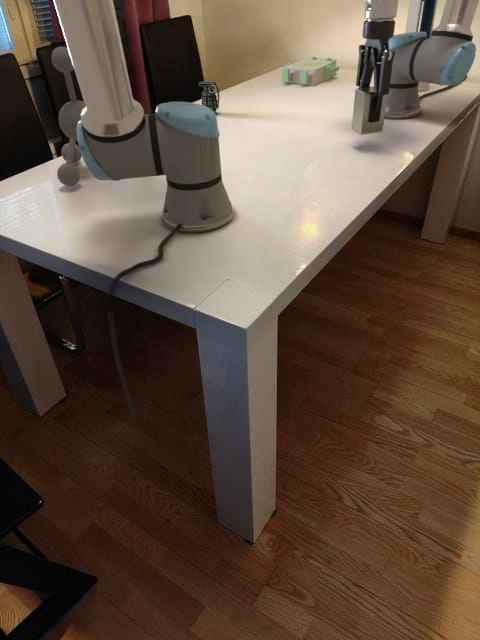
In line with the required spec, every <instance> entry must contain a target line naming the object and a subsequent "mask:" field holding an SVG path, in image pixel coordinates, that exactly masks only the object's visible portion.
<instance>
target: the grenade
mask: <svg viewBox="0 0 480 640" xmlns="http://www.w3.org/2000/svg"><path fill="white" fill-rule="evenodd" d="M197 85H198V86H200V87H203V91H202V92H201V101H200V102H201V104H200V105H204V106H206V107H208V108H210V109H211V110H213V111H214V113H215V114H216V112H217V111H218V110H219V108H220V90H219V86H218V84H217V83H216V81H199V82H198V84H197ZM216 93H217V95H216Z"/></svg>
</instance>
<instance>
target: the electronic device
mask: <svg viewBox="0 0 480 640" xmlns="http://www.w3.org/2000/svg"><path fill="white" fill-rule="evenodd" d="M438 2H439V0H409V2H408V10H407V16H406V23H405V32H404V33H410V32H422V31H423V32H426V35H427V37H426V38H430V36H431V33H432V30H433V29H434V24H435V19H436V13H437V7H438ZM430 86H431V83H426V82H419V83H418V92H421V91H427V90H428V88H430Z"/></svg>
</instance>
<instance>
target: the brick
mask: <svg viewBox="0 0 480 640" xmlns="http://www.w3.org/2000/svg"><path fill="white" fill-rule="evenodd" d="M378 91H379V90H378ZM373 94H374V85H373V86H370V87H365V88H359V87H358V88H355V89H354V99H353V100H354V102H353V112H352V119H351V121H352V122H351V131H354V132H355V133H357V134H358V135H360V136H363V135H370V134H375V133H381V132H382V133H383V129H384V121H385V118H384V115H385V107H386V100H387V95H384V96H383V100H382V108H381V113H380V121H379V122H372V123H370V122H369V118H370V109H371V100H372V95H373Z"/></svg>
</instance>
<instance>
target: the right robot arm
mask: <svg viewBox="0 0 480 640" xmlns="http://www.w3.org/2000/svg"><path fill="white" fill-rule="evenodd" d="M479 3H480V0H446V1H445V4H444V8H443V11H442V15H441V18H440V21H439V24H438V25H437V26H435V28H434V27H433V30H432V33H431V36H430V38H426V37H427V35H426V32H423V31H422V32H419V31H418V32H410V33H405V32H404V33H398V34H395V28H396V21H395V19H396V18H397V14H398V7H399V0H365V4H364V19H366V20H364V21H363V26H362V38H363V39H365V43H364V44H359V45H358V61H357V71H356V78H355V79H356V81H355V86H356V87H358V88H365V87H371V82H372V78H373V86H374V94H373V95H372V100H371V109H370V118H369V122H370V123H372V122H379V121H380V113H381V108H382V100H383V96H384V95H387V100H386V107H385V115H384V119H396V120H399V119H409V118H414V117H417V116H418V115H420V112H421V102H420V101H421V99H423V98H425V97H428V96H432V95H434V94H437V93H440V92H442V91H446V90H448V89H450V88H453V87H455V86H457V85H458V84H460V83H462V82H463V81H464V80H465V79H467V78H468V74H469V72H470V71H471V69H472V66H473V65H474V61H475V59H476V52H477V46H476V44H475V43H474V42H473V39H474V34H473V32H472V30H471V27H472V24H473V21H474V18H475V15H476V12H477V9H478V6H479ZM419 82H426V83H430V84H433V85H438V86H440V87H441V86H445V87H443V88H439V89H435V90H433V91H431V92H427V93H424V94H422V95H420V94H419V91H418V83H419ZM378 90H379V91H378Z"/></svg>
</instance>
